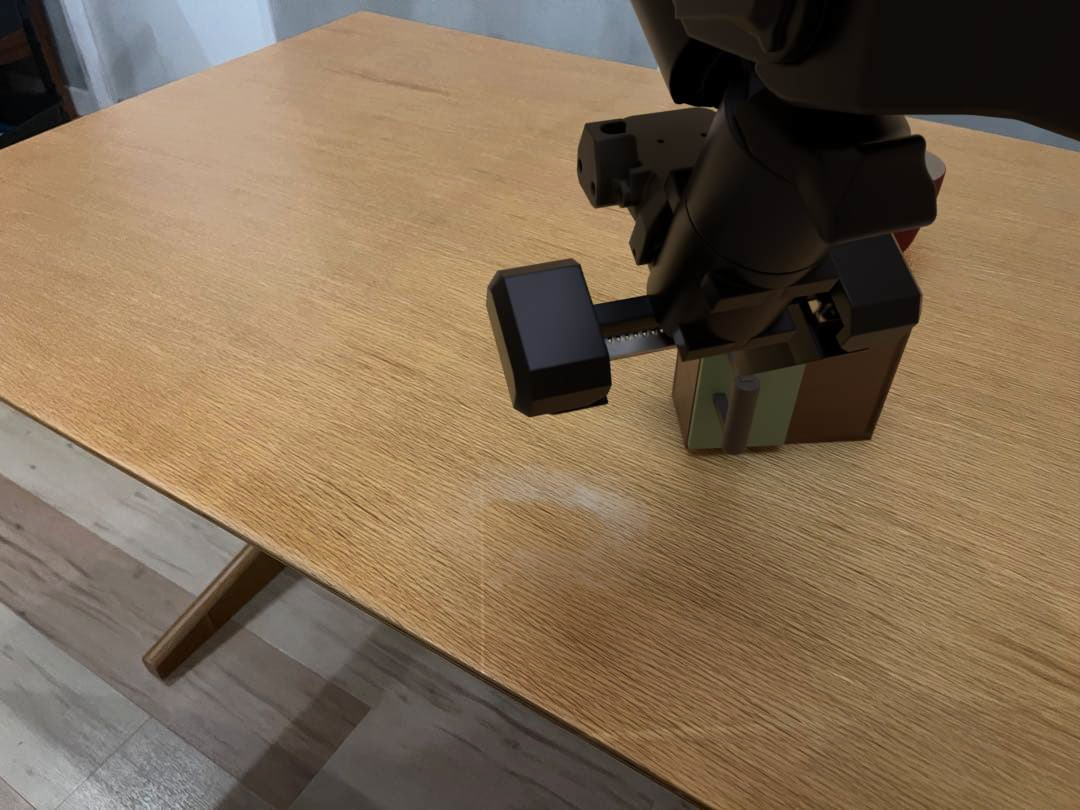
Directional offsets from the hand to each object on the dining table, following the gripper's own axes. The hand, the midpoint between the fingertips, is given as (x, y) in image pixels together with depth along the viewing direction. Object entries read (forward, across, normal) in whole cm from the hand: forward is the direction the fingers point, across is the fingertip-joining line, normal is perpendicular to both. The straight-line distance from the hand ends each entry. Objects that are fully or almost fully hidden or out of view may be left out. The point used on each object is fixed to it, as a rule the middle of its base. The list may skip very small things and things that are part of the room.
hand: (661, 384), depth 44 cm
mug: (+25, -32, -18) cm, 45 cm away
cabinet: (+18, -14, -2) cm, 22 cm away
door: (+14, -9, +2) cm, 17 cm away
